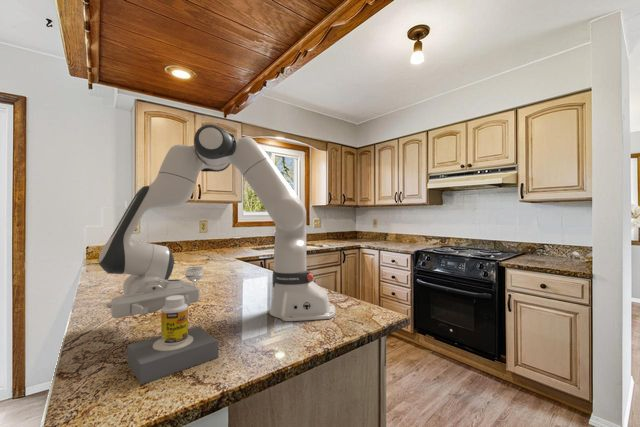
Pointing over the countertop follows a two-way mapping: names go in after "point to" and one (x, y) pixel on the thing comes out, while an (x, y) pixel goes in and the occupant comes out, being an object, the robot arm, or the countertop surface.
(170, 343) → the supplement bottle
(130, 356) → the block
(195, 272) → the wineglass
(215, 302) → the countertop surface
